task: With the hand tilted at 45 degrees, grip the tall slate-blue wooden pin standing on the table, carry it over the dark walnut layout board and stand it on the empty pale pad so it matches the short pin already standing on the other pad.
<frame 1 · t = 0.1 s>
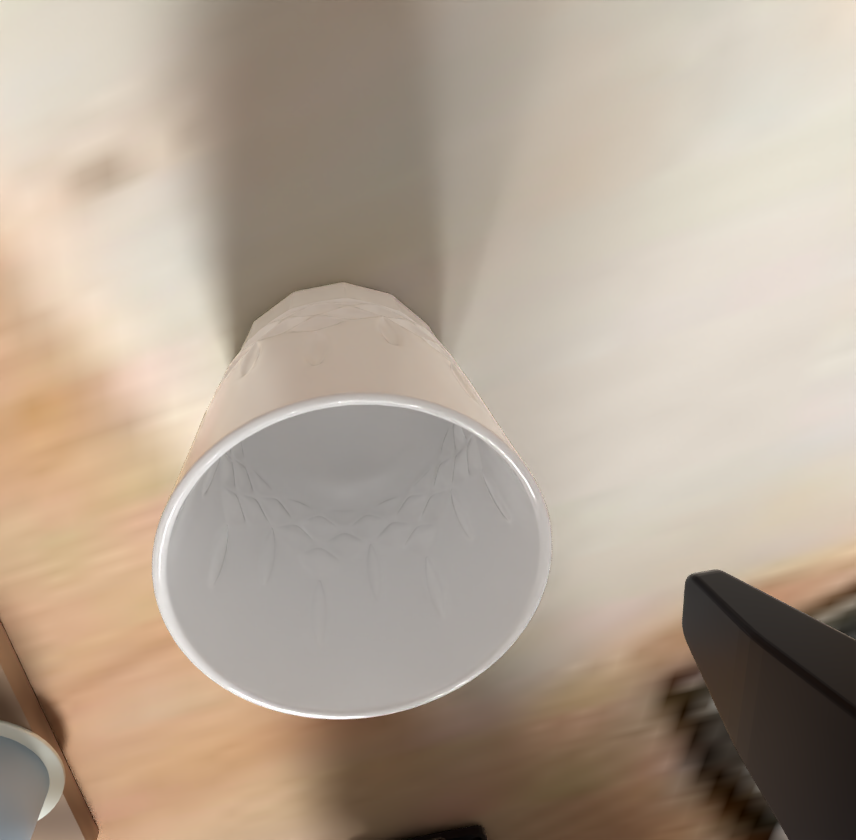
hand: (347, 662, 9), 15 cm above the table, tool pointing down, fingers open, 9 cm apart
white cup: (341, 381, 23), on the table
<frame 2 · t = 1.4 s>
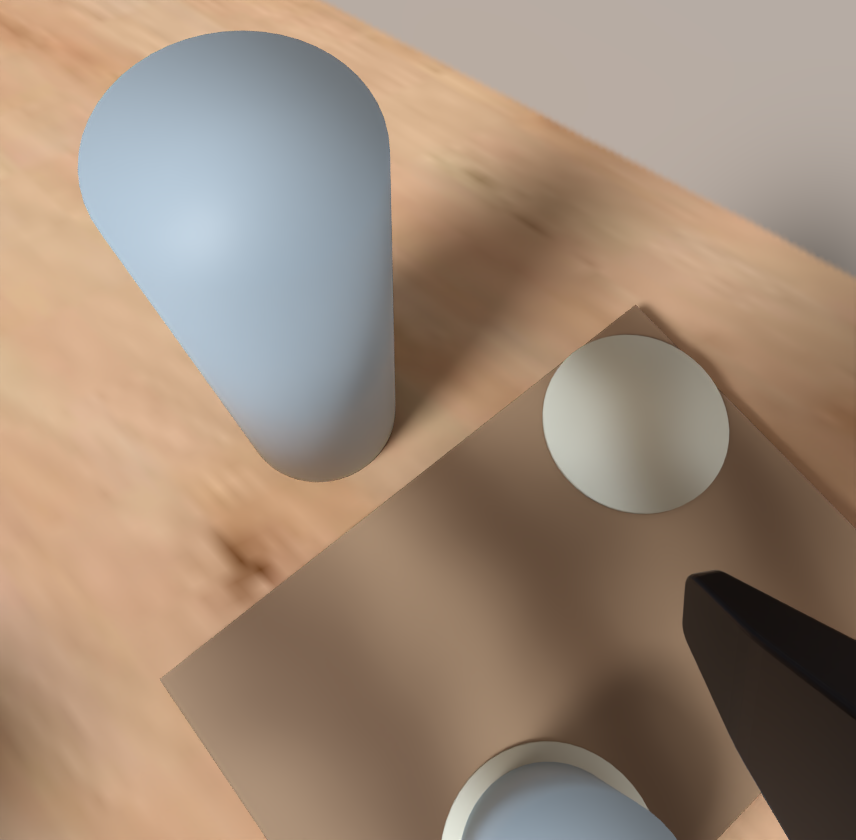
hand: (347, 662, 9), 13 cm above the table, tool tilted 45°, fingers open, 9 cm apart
tall pin: (320, 409, 24), on the table
layout board: (553, 643, 22), on the table
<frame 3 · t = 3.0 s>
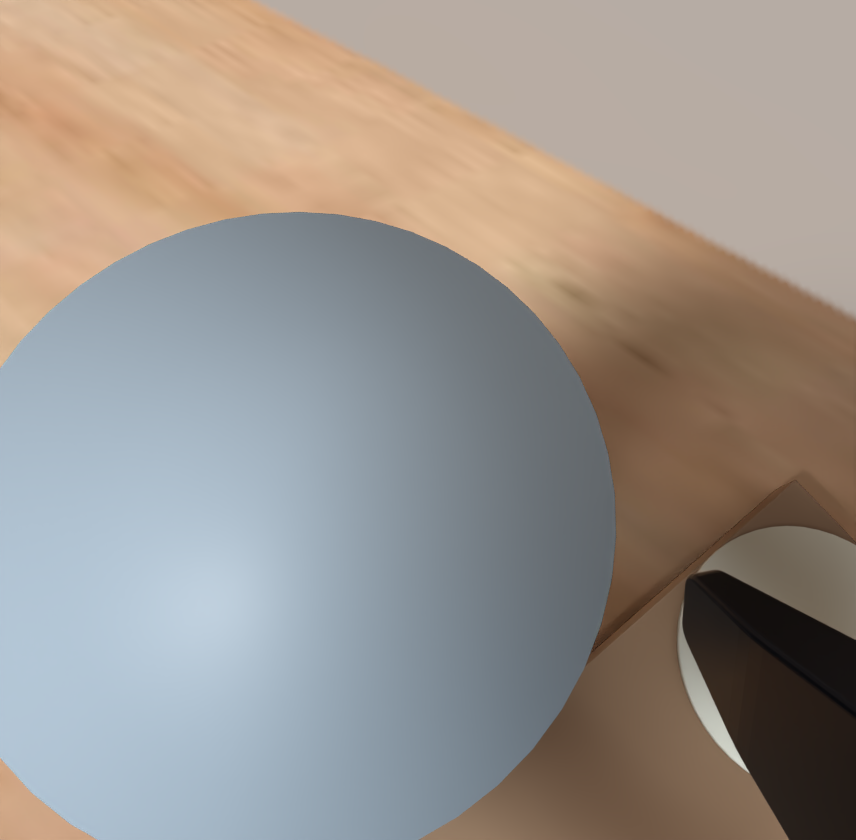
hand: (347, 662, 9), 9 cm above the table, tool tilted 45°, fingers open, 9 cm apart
tall pin: (367, 618, 18), on the table
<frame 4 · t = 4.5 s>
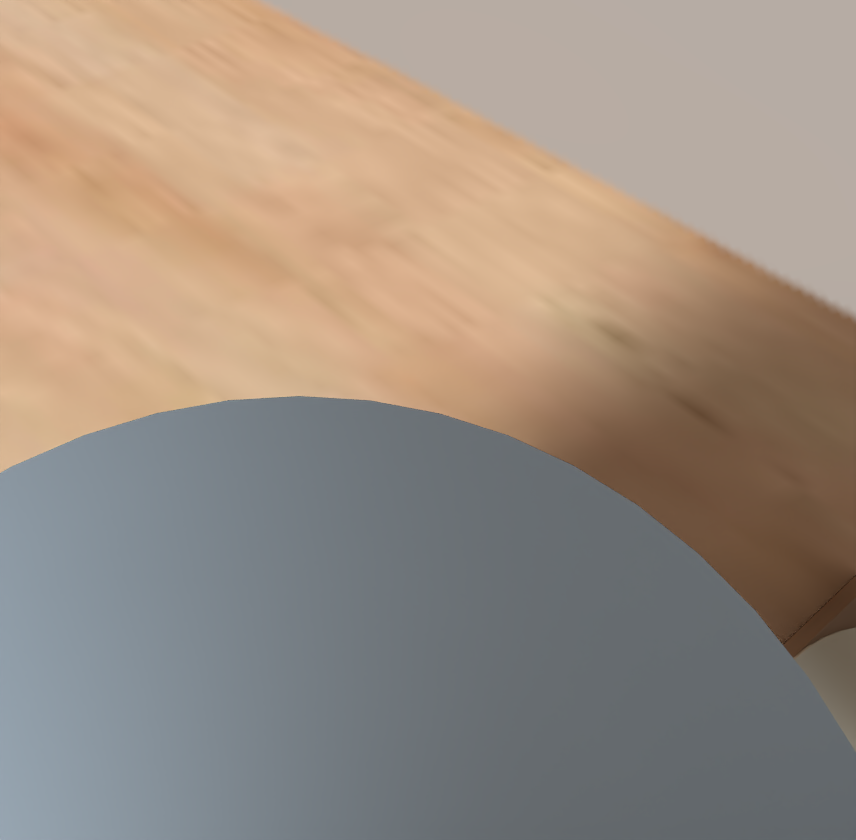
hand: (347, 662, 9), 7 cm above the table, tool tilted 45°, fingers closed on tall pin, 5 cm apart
tall pin: (380, 734, 15), on the table, touching gripper
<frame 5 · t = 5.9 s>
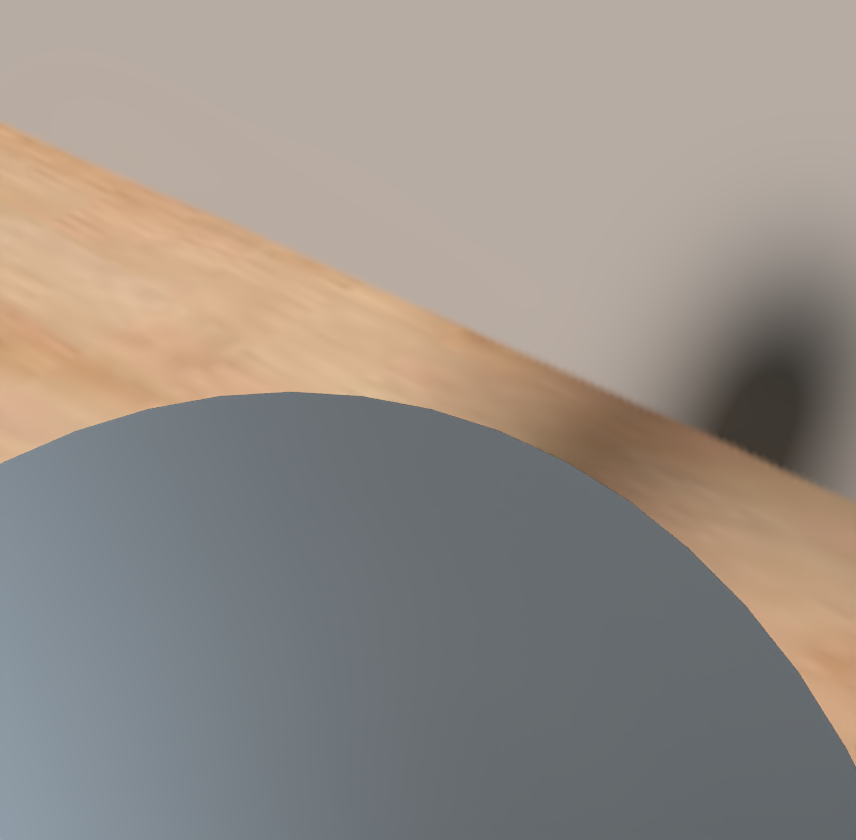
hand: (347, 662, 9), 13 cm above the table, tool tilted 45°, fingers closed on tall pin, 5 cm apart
tall pin: (378, 732, 15), point 7 cm above the table, touching gripper
when the fingers open (9 cm above the table, at t = 7.7 s): tall pin drops 1 cm, resting on layout board.
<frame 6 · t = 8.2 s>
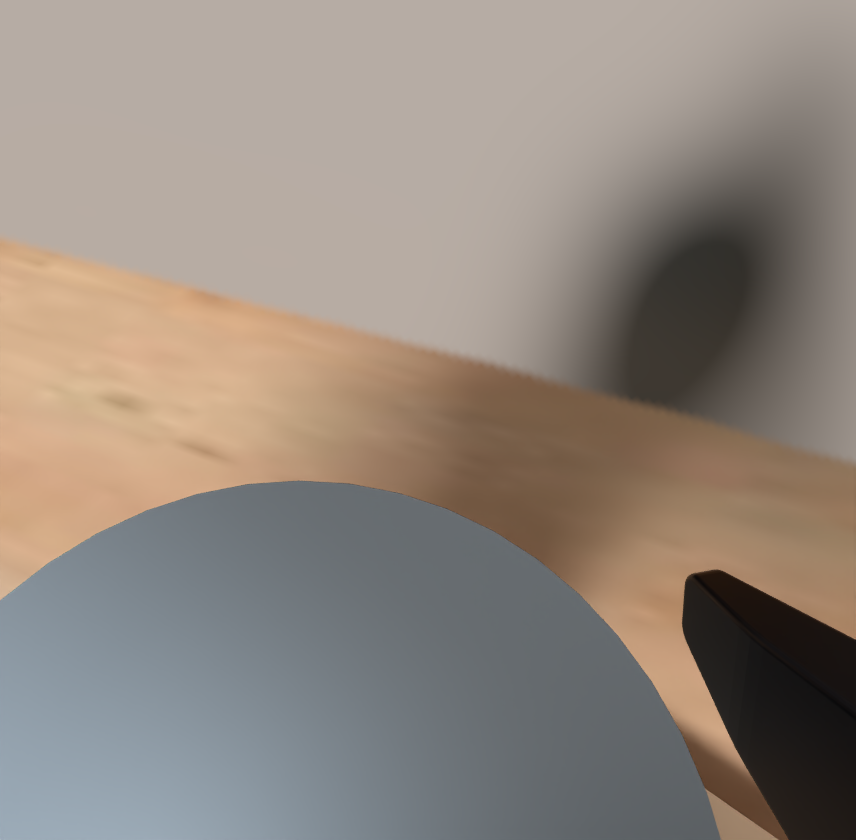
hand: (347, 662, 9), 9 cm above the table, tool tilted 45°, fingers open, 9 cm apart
tall pin: (380, 731, 16), point 1 cm above the table, touching layout board
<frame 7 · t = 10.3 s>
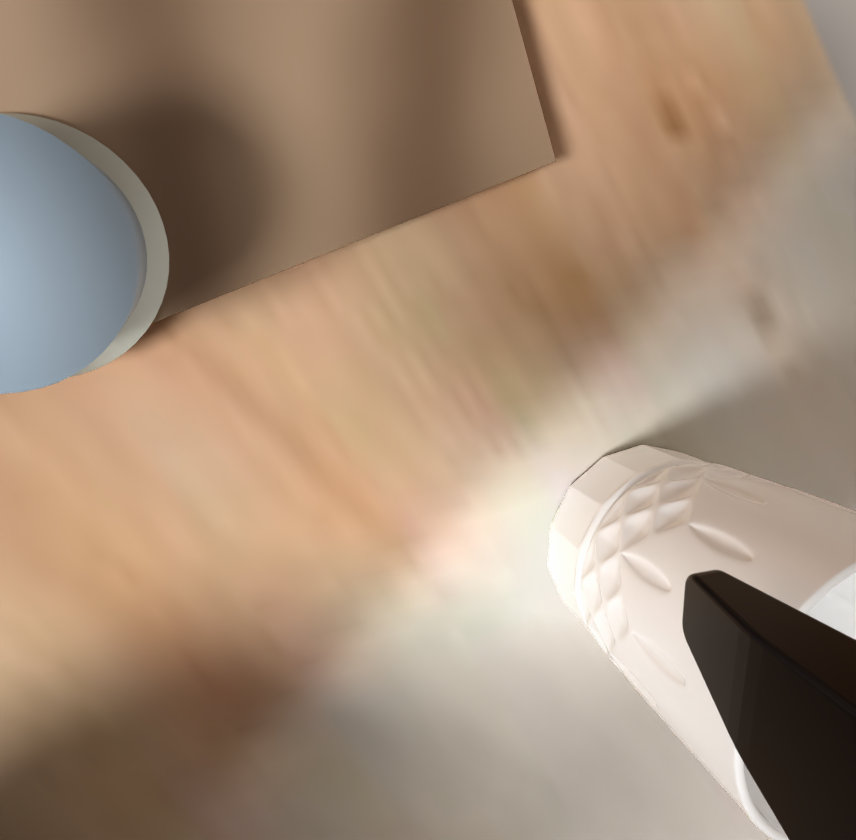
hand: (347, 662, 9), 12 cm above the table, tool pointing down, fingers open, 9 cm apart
short pin: (31, 252, 17), resting on layout board
white cup: (626, 532, 26), on the table
layout board: (120, 28, 17), on the table
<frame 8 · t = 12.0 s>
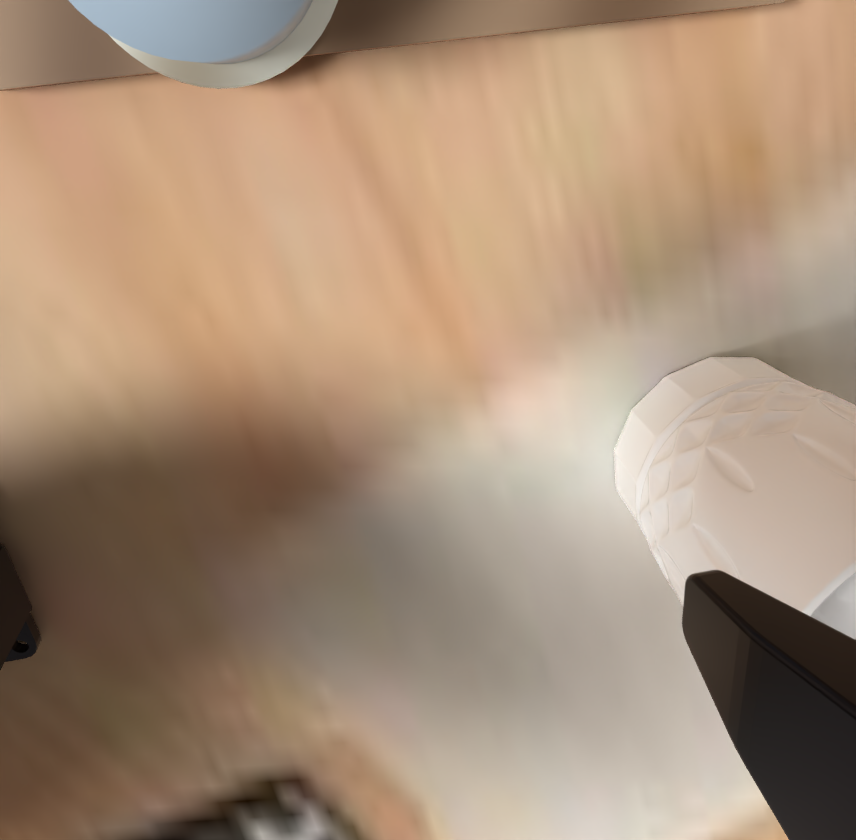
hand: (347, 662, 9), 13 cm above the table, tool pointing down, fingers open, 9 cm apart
white cup: (703, 443, 25), on the table
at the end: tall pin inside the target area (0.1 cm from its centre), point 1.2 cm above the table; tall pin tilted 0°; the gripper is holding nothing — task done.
